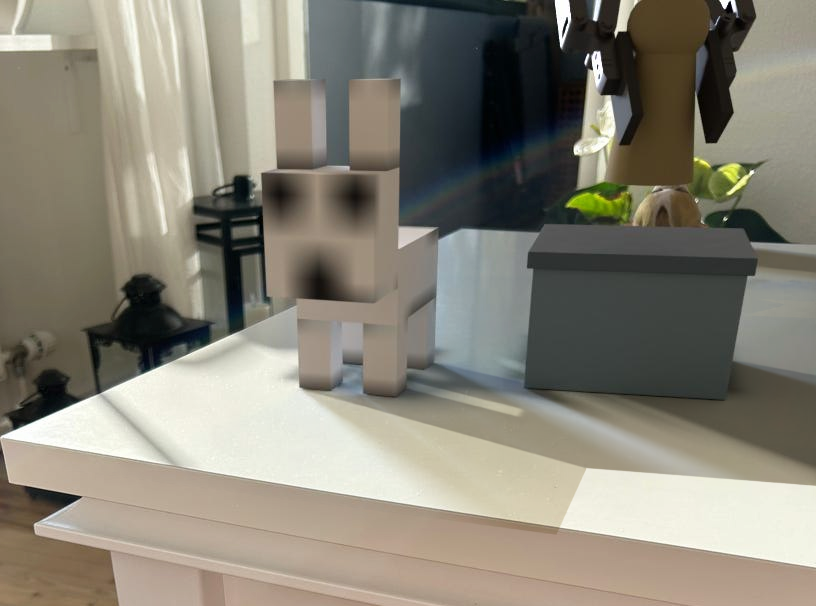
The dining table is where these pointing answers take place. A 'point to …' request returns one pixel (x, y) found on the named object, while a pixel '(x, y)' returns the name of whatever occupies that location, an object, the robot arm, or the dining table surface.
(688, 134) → the cork
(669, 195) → the ceramic sculpture
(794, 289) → the dining table surface
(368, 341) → the blocky rabbit figurine
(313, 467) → the dining table surface
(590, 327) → the container
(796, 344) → the dining table surface
